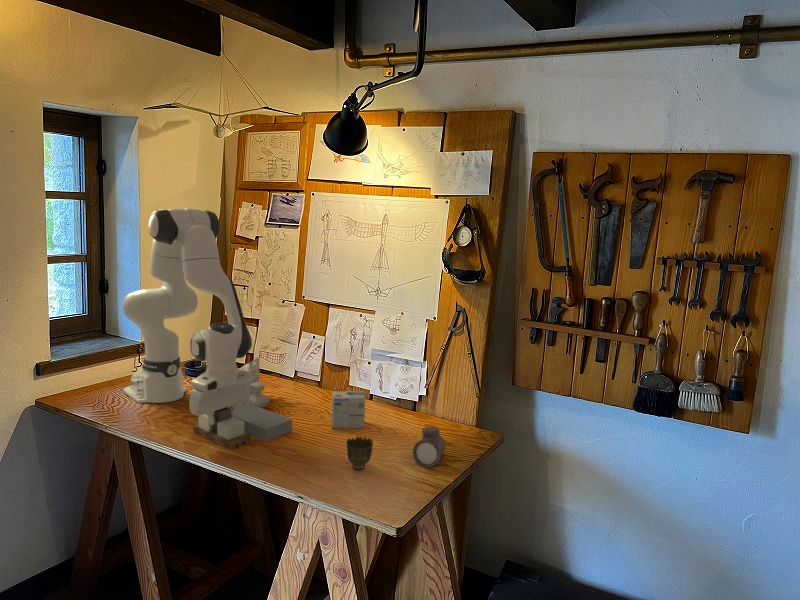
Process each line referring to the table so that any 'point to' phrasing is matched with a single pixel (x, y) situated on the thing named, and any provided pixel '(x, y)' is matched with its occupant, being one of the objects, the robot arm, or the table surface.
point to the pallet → (212, 435)
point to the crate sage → (230, 428)
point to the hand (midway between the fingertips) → (221, 421)
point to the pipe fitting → (429, 447)
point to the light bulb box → (348, 409)
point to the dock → (262, 422)
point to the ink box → (251, 371)
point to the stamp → (258, 395)
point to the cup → (359, 452)
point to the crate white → (204, 422)
